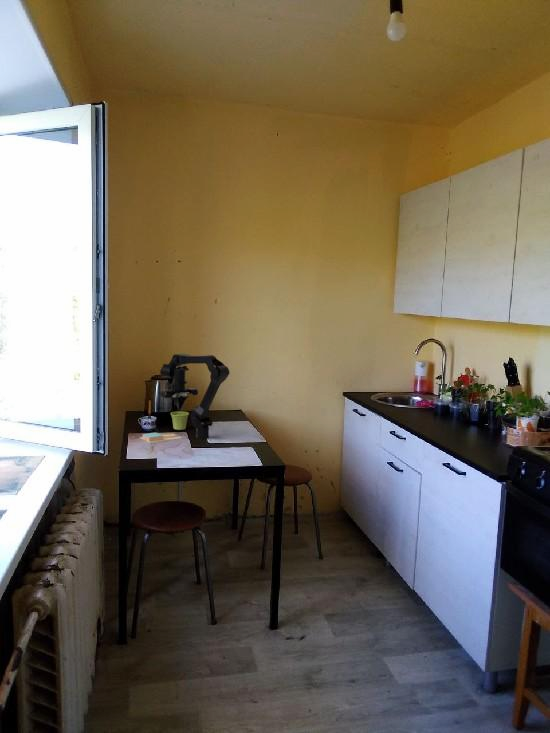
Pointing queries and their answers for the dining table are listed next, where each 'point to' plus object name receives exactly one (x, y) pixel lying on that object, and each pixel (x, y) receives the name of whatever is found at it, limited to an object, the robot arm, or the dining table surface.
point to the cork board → (165, 437)
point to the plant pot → (179, 420)
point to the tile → (152, 437)
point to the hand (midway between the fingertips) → (179, 409)
